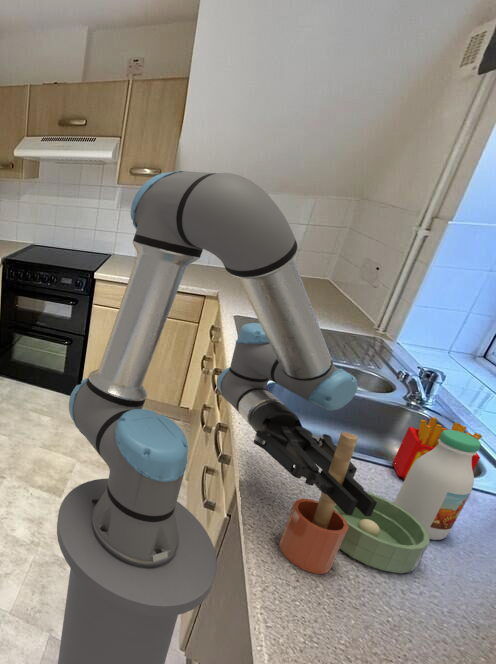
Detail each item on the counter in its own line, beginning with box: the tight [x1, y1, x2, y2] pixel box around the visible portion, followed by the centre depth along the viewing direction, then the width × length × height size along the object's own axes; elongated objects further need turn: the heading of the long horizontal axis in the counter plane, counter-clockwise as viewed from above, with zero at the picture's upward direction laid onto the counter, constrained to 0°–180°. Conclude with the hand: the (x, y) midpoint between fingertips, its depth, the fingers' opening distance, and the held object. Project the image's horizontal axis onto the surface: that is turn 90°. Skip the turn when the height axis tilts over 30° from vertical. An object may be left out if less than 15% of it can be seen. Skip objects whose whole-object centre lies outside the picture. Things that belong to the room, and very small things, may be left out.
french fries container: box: [391, 416, 483, 481], centre depth 87 cm, size 7×9×14 cm
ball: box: [358, 519, 380, 537], centre depth 75 cm, size 3×3×3 cm
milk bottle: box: [393, 429, 482, 541], centre depth 75 cm, size 8×8×20 cm
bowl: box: [334, 490, 431, 574], centre depth 73 cm, size 13×13×6 cm
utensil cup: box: [279, 498, 349, 575], centre depth 70 cm, size 7×7×9 cm
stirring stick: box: [312, 431, 359, 529], centre depth 67 cm, size 2×2×24 cm
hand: (361, 508), depth 61 cm, fingers closed on stirring stick, 2 cm apart
